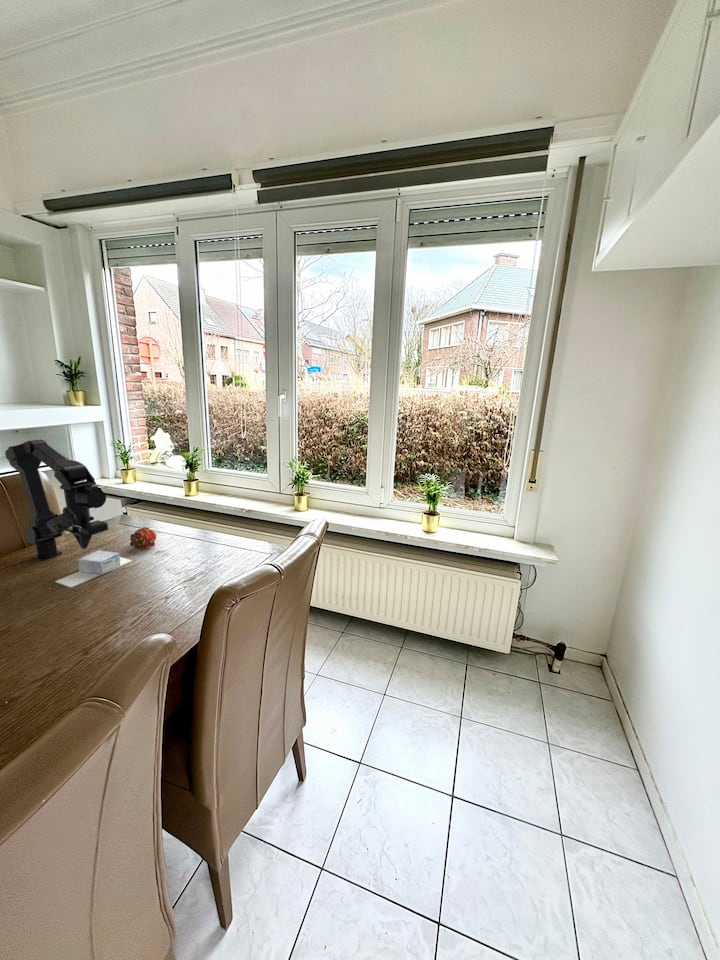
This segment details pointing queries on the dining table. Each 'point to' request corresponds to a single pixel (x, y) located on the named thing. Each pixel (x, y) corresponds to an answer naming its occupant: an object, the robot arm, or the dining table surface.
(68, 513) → the robot arm
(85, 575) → the mat
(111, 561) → the medicine box
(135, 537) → the dragon fruit
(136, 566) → the dining table surface
